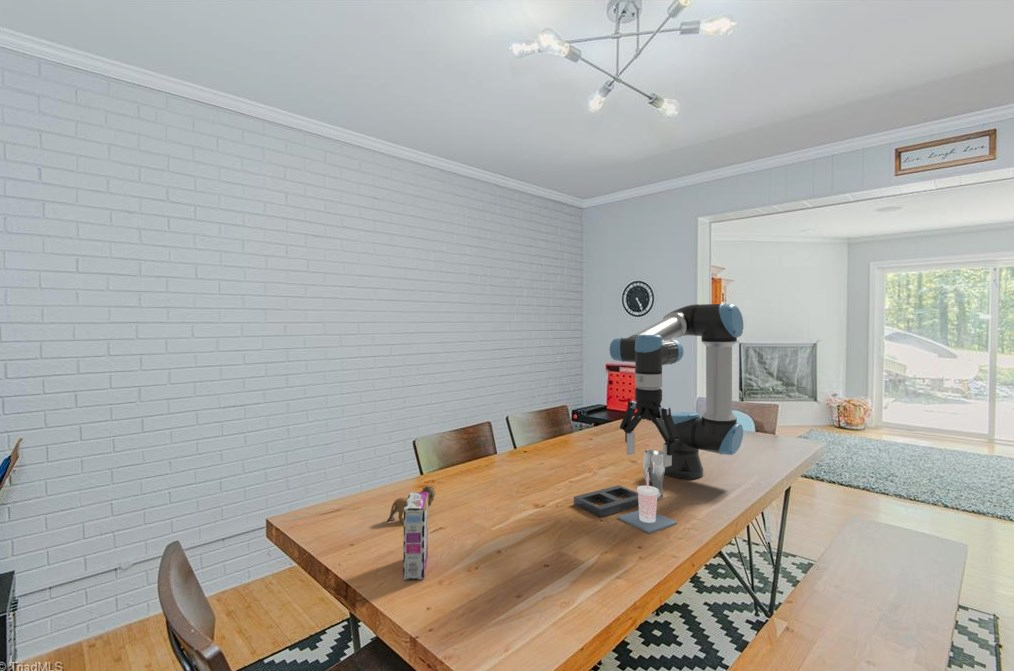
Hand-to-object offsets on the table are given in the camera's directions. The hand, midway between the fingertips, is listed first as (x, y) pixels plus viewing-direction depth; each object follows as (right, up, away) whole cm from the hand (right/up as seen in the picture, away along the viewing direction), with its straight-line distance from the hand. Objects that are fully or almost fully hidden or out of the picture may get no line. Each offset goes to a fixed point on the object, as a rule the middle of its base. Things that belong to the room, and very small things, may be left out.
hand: (648, 459), depth 139 cm
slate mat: (0, -18, 0) cm, 18 cm away
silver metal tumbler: (+8, -18, +20) cm, 27 cm away
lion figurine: (-69, -18, +2) cm, 72 cm away
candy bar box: (-63, -19, -26) cm, 71 cm away
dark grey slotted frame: (-8, -18, +13) cm, 23 cm away
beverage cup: (0, -18, 0) cm, 18 cm away
